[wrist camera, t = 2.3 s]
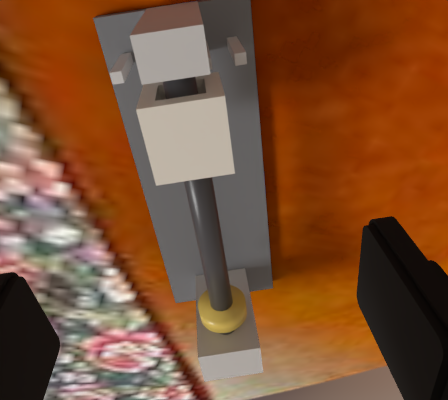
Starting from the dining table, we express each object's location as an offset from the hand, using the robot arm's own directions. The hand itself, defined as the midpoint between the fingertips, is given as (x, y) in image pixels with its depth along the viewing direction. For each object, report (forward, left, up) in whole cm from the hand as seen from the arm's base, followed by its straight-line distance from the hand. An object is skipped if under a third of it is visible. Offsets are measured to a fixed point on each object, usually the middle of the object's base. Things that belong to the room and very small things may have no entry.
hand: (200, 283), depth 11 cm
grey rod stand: (+7, 0, -18) cm, 19 cm away
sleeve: (0, 0, -13) cm, 13 cm away
